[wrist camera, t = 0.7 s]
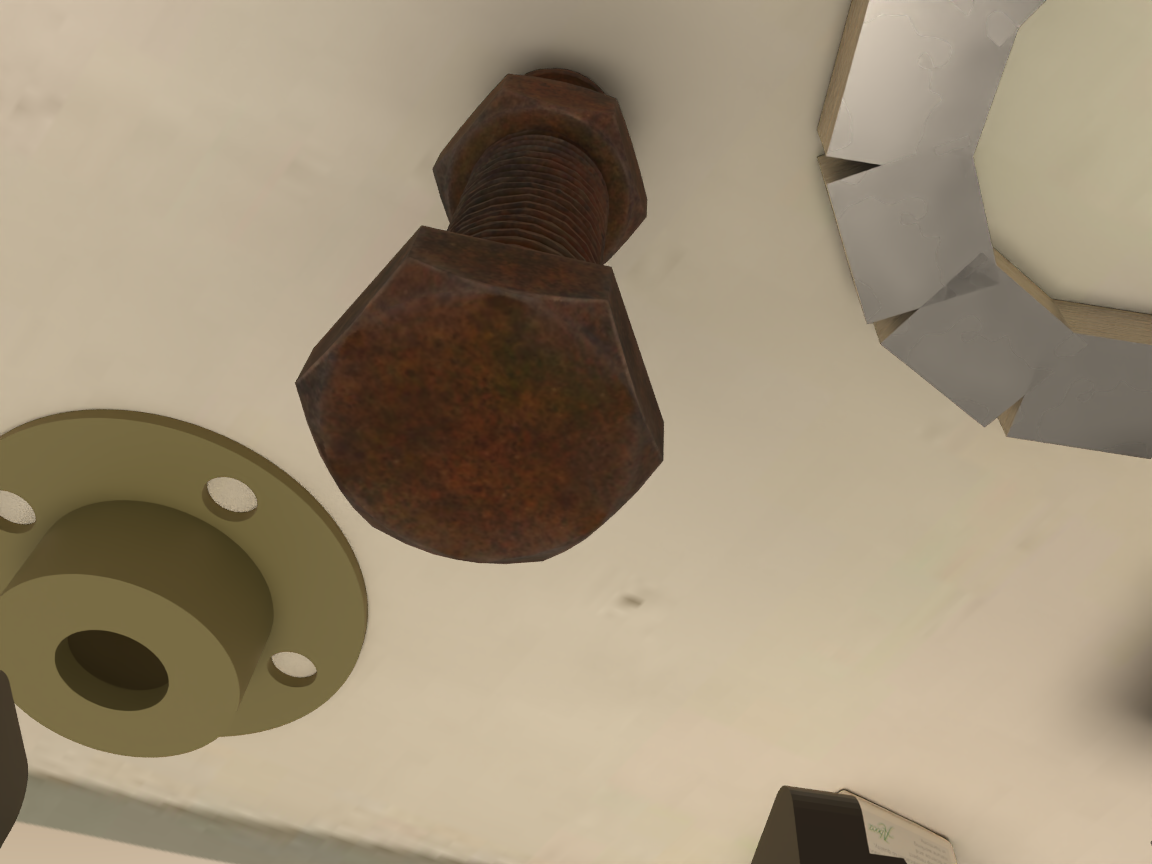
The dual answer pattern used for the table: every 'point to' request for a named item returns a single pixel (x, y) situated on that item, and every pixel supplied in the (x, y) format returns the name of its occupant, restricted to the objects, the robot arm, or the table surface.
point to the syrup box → (902, 837)
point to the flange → (165, 586)
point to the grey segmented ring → (963, 234)
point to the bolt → (499, 342)
